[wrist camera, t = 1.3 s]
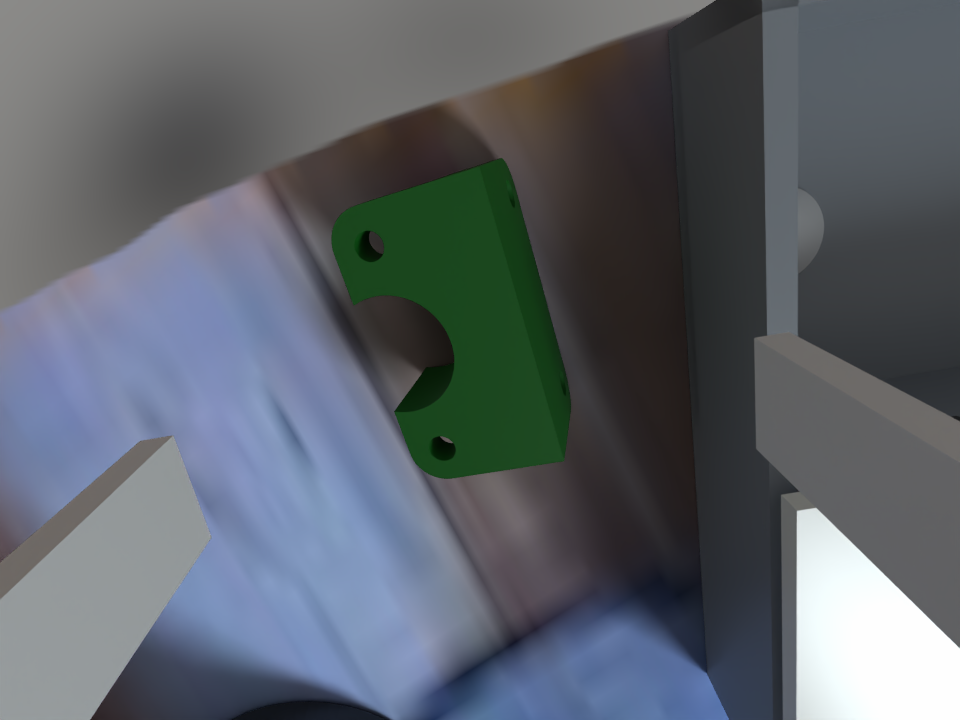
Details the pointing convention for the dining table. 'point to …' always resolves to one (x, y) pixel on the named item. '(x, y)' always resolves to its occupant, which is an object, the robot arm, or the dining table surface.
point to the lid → (855, 633)
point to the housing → (805, 257)
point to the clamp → (466, 320)
